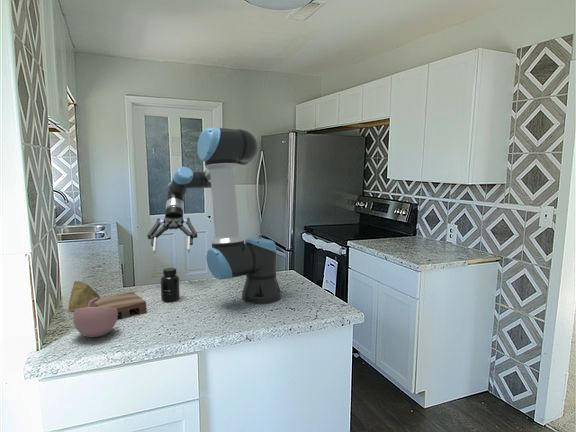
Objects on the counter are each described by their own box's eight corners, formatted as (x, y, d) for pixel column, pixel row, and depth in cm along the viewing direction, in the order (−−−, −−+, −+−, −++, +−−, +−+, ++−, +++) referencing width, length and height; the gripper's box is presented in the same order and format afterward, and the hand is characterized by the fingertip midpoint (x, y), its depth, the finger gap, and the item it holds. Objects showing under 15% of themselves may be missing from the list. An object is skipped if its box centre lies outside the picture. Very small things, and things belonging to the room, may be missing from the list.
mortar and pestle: (123, 325, 123) (121, 291, 121) (112, 342, 111) (110, 304, 110) (83, 328, 121) (80, 293, 119) (68, 345, 109) (65, 307, 108)
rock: (107, 294, 146) (79, 292, 145) (103, 281, 140) (74, 278, 139) (97, 319, 138) (68, 317, 137) (93, 307, 132) (62, 304, 131)
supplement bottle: (163, 303, 143) (161, 272, 141) (160, 298, 149) (158, 268, 147) (181, 300, 146) (180, 270, 144) (178, 295, 152) (176, 266, 150)
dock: (146, 312, 134) (146, 301, 133) (103, 323, 125) (103, 311, 124) (133, 301, 144) (132, 291, 144) (93, 310, 136) (92, 300, 135)
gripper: (203, 215, 174) (203, 255, 161) (146, 216, 169) (141, 257, 157) (202, 205, 168) (202, 245, 155) (143, 206, 164) (137, 247, 151)
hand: (171, 251), depth 156 cm, fingers open, 13 cm apart
